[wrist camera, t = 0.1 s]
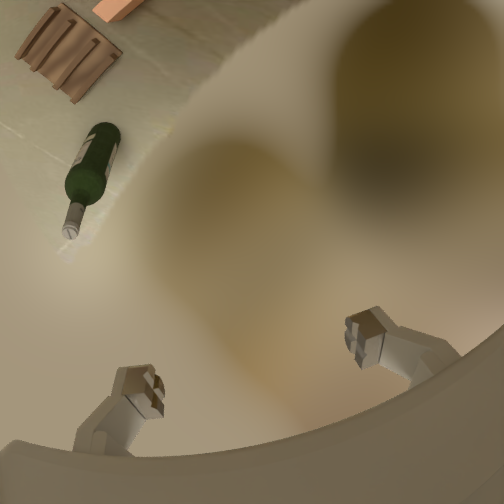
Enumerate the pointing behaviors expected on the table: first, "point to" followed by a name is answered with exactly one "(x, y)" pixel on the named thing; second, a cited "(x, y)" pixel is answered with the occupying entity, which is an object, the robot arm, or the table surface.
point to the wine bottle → (89, 174)
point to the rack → (67, 51)
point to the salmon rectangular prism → (115, 9)
